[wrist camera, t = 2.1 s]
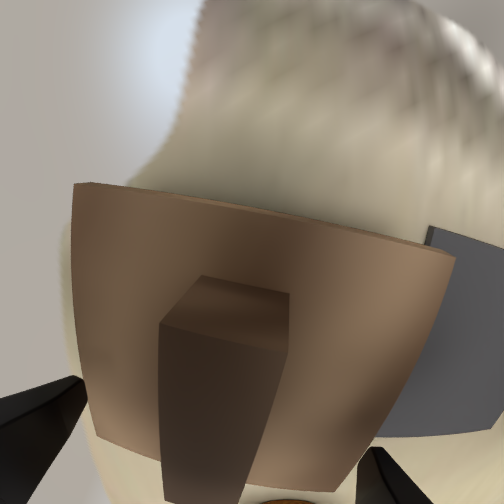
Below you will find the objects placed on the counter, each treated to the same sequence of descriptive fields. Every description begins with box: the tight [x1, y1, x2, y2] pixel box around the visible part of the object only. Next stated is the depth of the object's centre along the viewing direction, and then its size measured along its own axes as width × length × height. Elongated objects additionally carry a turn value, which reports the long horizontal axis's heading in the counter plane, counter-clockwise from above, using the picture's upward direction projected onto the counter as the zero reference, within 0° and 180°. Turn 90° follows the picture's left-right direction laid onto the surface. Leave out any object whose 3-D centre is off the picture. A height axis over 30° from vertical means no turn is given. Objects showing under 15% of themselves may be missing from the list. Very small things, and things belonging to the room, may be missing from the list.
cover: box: [71, 182, 456, 504], centre depth 8 cm, size 12×12×4 cm
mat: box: [375, 225, 504, 437], centre depth 13 cm, size 13×13×1 cm
